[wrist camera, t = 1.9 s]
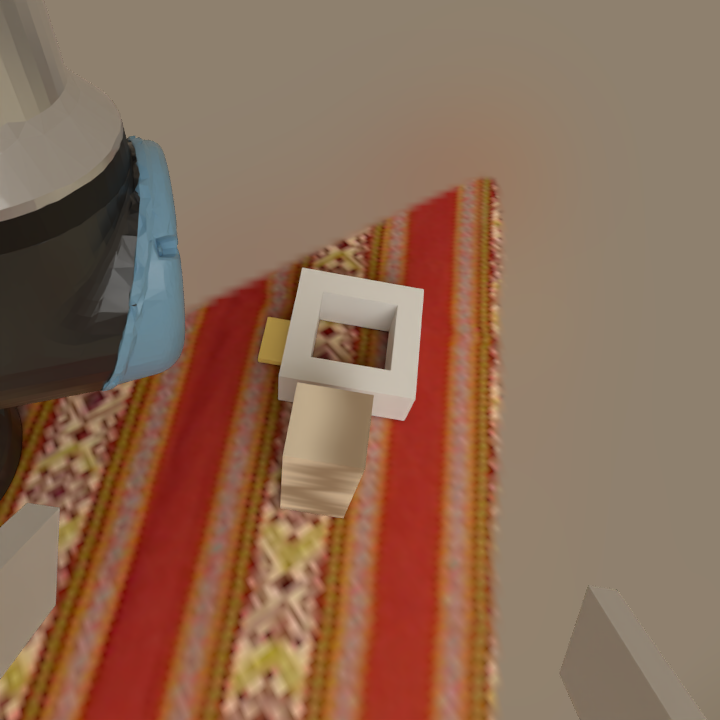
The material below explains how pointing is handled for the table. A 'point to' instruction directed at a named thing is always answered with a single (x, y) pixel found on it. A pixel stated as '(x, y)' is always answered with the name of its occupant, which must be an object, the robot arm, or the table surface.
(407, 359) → the socket block
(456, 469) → the table surface
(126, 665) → the table surface
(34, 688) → the table surface
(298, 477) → the beech peg
